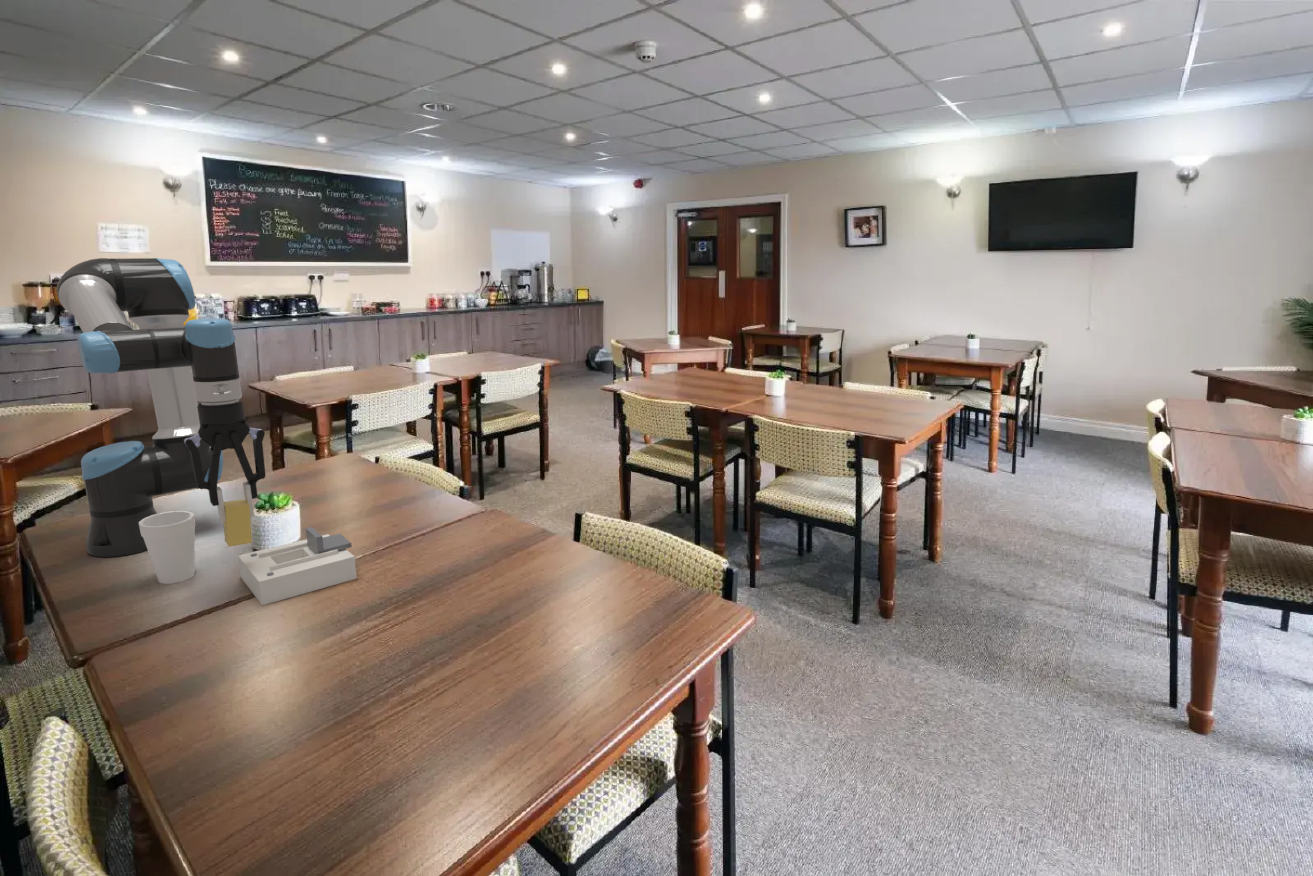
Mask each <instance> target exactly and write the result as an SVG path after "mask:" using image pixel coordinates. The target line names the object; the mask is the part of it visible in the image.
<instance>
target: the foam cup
mask: <svg viewBox="0 0 1313 876" xmlns="http://www.w3.org/2000/svg"><path fill="white" fill-rule="evenodd" d="M195 518H196V517H195V515H194V512H192V511H189V510H188V511H187V510H173V511H172V510H171V511H163V512H160V513H157V514H155V515H151V516H149V517H146V518H144V519H142V520H141V521H140V522H139V527H140V533H141V536H142V537H143V538H144V541H145V544H146V547H147V550H146V551H147V553H148V555H149V558H150V561H151V564H152V566H153V570H154V572H155V574H156V579H157V581H158V583H160V584H162V585H171V584H177V583H181V582H184V581H187V580H189V579H191V578H192V577H194V576H195V567H196V566H195V558H196V557H195V552H196V551H195V547H196V546H195V542H196V541H195V540H196V539H195V537H196V535H195V533H196V532H195V530H196V529H195V527H197V525H196V519H195Z"/></svg>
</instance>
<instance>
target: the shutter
mask: <svg viewBox="0 0 1313 876" xmlns="http://www.w3.org/2000/svg"><path fill="white" fill-rule="evenodd" d="M305 535H306V539H307V544H308V546H309V547H310V548H311V549H312V550H313V551H314V552H315V553H316V554H320V553H324V552H328V551H332V550H336V549H337V550H338V551H339V550H342V549H346V550H347V549H349V548H350V549H351V548H352V542H351V541H349V539H347V538H346V537H345V536H343V535H342V534H341V533H336V534H332V535H330V536H328V537H323V538H322V536H323V535H322V534H321V533H320V532H319V531H317V530H316V529H315V528H313V526H310V527H306V528H305Z"/></svg>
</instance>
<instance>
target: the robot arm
mask: <svg viewBox="0 0 1313 876" xmlns="http://www.w3.org/2000/svg"><path fill="white" fill-rule="evenodd" d="M194 291H195V290H194V287H193V285H192V281H191V279H190V276H189V274H188V272H187V270H186V269H185V267H184V266H183V264H181V263H180V262H179V261H177V260H175V259H171V258H169V259H168V258H158V257H154V258H147V257H146V258H145V257H144V258H143V257H142V258H134V257H133V258H132V257H131V258H105V257H104V258H103V257H101V258H93V259H89V260H85V261H81V262H80V263H76V265H74V266H72V267H70V268H69V269H67V270H66V271H65V272H64V273H63V275H62V276H60V279H58V282H57V284H56V295H57V298H58V300H59V303H60V304H61V306H62V307H63V308H64V310H65V311H66V312H68V313H69V314H71V315H73V317H74V319H75V320H76V322H77V324H78V326H79V328H80V330H81V331H82V333H80V334H78V337H77V345H78V351H79V352H78V353H79V358H80V361H81V364H82V367H83V369H84V371H86V372H87V373H89V374H110V375H111V374H115V373H124V372H134V371H135V372H136V371H147V375H148V381H149V387H150V391H151V397H152V401H153V402H152V403H153V406H154V413H155V417H156V424H157V427H158V429H157V431H156V432H155V433H154V434H153V435H152V439H151V440H152V445H148V446H145V445H144V444H143V442H142V441H139V440H129V441H120V442H114V443H110V444H107V445H103V446H100V447H98V448H95V449H92V450H91V451H88V452H87V453H85V454H84V455H83V456H82V458H81V460H80V466H81V473H82V474H81V479H82V480H83V483H84V488H85V493H86V500H87V505H88V509H89V514H90V521H89V527H88V531H87V536H86V540H85V545H86V546H85V547H86V551H87V553H88V554H89V555H91V556H93V557H99V558H113V557H122V556H127V555H133V554H137V553H142V552H145V551H148V550H147V547H146V544H145V541H144V538H143V537H142V536H141V533H140V527H139V522H140V521H141V520H142V519H144V518H146V517H149V516H151V515H155V514H158V512H157V511H156V509H155V506H154V500H153V497H155V496H161V495H166V494H173V493H177V492H182V491H188V490H193V489H197V490H198V489H200V490H207V491H208V495H209V501H210V504H211V505H212V506H213V507H217V511H218V517H219V518H218V519H219V520H220V522H221V523H223V522H226V515H225V508H224V502H225V501H224V496H223V490H222V488H221V487H220V486H218V483H219V481H220V480H221V478H222V474H223V469H224V455H223V454H224V453H223V451H224V450H227V449H228V450H229V449H230V450H233V451H234V452H235V455H236V456H237V457H236V458H238V461H239V464H240V467H241V469H242V472H243V473H244V476H245V478H246V481H245V482H244V481H243V482H242V486H243V493H244V499H245V500H246V501H247V502H248V503H249V508H250V518H251V517H255V510H254V503H253V500H255V499H257V498H258V488H257V482H258V481H259V480H263V479H265V478H266V467H265V456H264V455H265V454H264V447H263V440H264V438H265V431H264V430H263V429H262V428H260V427H259V428H254V427H250V425H248V423H247V421H246V420H247V419H246V415H245V413H246V412H245V407H244V401H242V400H241V399H242V397H243V393H242V385H241V381H240V380H241V379H240V371H239V366H238V365H239V364H238V357H237V355H238V354H237V350H236V349H237V348H236V342H235V341H236V335H235V334H234V331H233V330H234V329H233V325H232V323H231V321H230V320H228V319H226V318H200V319H199V318H198V319H190V320H188V319H189V318H190V313H189V310H190V311H191V310H193V309H194V308H195V306H196V299H195V296H196V295H195V292H194ZM123 312H127V317H128V319H127V317H126V316H125V314H124V313H123ZM128 320H129V321H131V323H133V324H135V325H136V326H137V327H138V329H133V327H132V326H131V324H130V322H129V321H128ZM184 323H185V324H184ZM184 325H185V326H184ZM248 434H249V437H250V438H251V439H252V445H253V446H252V447H253V457H254V465H255V466H254V467H255V473H254V472H253V469H252V466H251V465H250V462H249V460H248V458H247V455H246V453H245V448H244V446H243V442H244V441H245V439H246V437H247V436H248Z"/></svg>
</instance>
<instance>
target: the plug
mask: <svg viewBox="0 0 1313 876" xmlns="http://www.w3.org/2000/svg"><path fill="white" fill-rule="evenodd" d="M223 502H224V508H225V515H226V522H222V523H223V533H224V542H225V544H226V545H227V546H228V547H236V546H242V545H249V544H252V543H253V541H252V540H253V537H252V523H251V517H250V508H249V503H248V502H247V501H246V500H245V498H244V499H237V500H229V501H223Z"/></svg>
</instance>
